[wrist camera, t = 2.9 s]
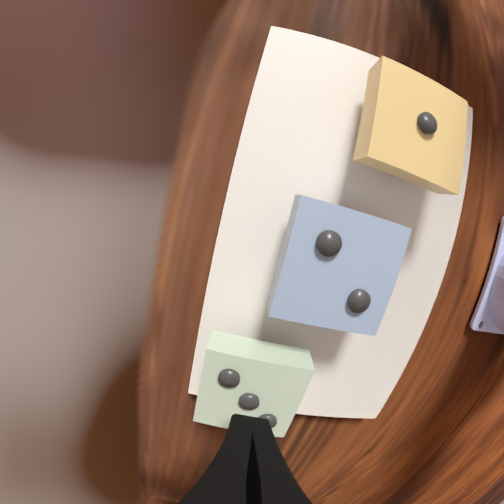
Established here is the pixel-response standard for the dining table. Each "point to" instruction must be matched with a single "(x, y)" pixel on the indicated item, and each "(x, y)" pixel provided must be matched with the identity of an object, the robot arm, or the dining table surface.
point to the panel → (329, 190)
